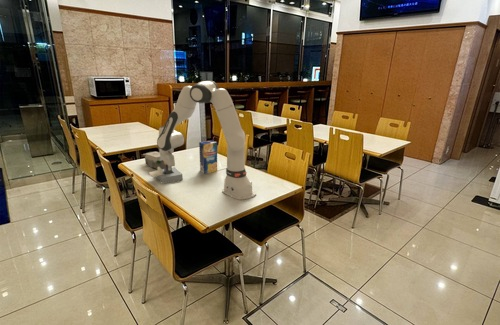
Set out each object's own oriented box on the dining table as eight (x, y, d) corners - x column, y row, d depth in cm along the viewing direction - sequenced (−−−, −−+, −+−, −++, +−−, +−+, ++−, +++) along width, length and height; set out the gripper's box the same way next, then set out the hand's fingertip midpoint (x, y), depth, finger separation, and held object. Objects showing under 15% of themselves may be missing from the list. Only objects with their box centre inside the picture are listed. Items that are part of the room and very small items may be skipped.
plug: (172, 174, 191) (171, 162, 189) (166, 175, 189) (165, 163, 186) (170, 173, 195) (169, 160, 192) (164, 174, 192) (163, 161, 190)
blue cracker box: (217, 170, 209) (217, 142, 202) (204, 173, 202) (203, 144, 195) (212, 168, 214) (212, 140, 207) (199, 170, 208) (199, 142, 201)
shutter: (162, 174, 186) (162, 169, 185) (151, 176, 182) (151, 171, 181) (159, 171, 192) (159, 166, 190) (148, 173, 188) (148, 168, 187)
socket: (182, 179, 190) (182, 174, 189) (162, 183, 183) (161, 177, 182) (174, 172, 203) (174, 167, 202) (155, 175, 195) (154, 170, 194)
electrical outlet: (159, 172, 201) (157, 158, 198) (141, 165, 220) (140, 152, 217) (173, 168, 209) (172, 155, 206) (155, 161, 228) (154, 150, 225)
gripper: (176, 152, 180) (177, 172, 184) (166, 145, 196) (167, 164, 200) (167, 154, 176) (168, 174, 181) (157, 146, 192) (158, 165, 197)
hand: (168, 168), depth 191 cm, fingers closed on plug, 4 cm apart
